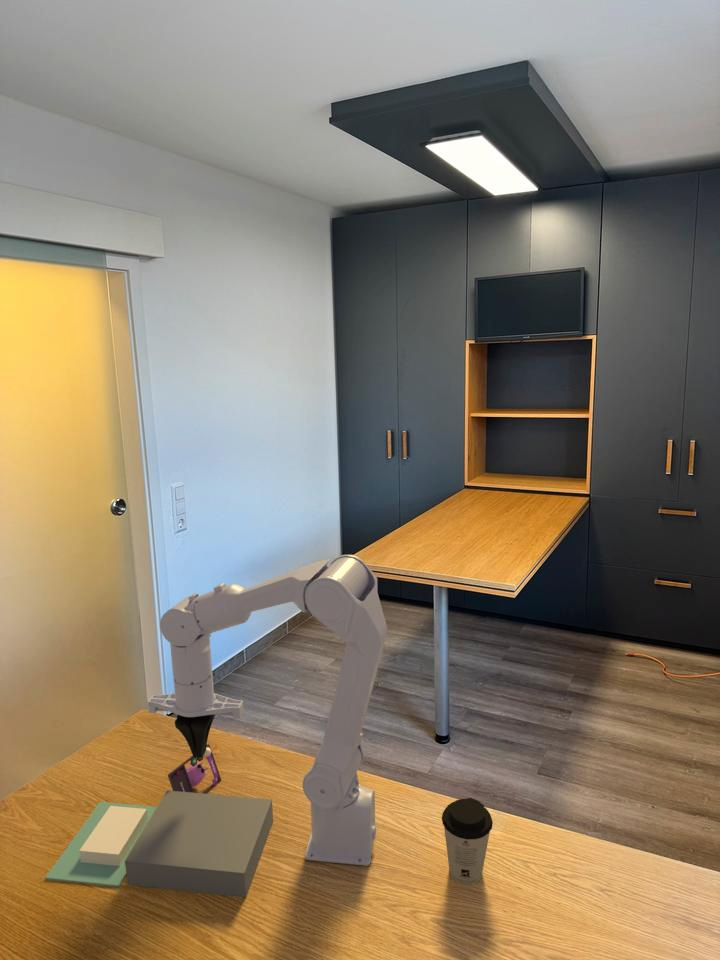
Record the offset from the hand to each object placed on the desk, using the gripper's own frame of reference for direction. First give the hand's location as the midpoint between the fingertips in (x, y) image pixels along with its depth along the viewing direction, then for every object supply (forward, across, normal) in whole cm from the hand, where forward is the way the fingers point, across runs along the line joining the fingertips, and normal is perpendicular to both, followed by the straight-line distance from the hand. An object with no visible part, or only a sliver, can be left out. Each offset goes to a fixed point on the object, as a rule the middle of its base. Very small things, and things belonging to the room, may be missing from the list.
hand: (199, 753), depth 103 cm
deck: (+10, -3, +8) cm, 13 cm away
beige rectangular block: (+8, +11, +8) cm, 16 cm away
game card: (+11, +4, -4) cm, 12 cm away
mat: (+10, +12, +8) cm, 18 cm away
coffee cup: (+11, -41, +7) cm, 43 cm away
